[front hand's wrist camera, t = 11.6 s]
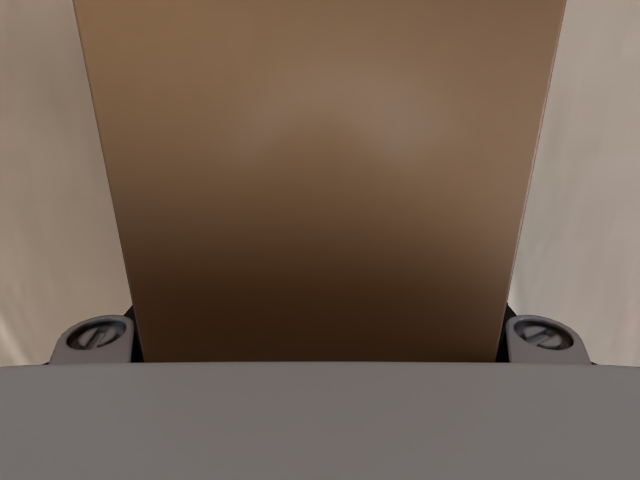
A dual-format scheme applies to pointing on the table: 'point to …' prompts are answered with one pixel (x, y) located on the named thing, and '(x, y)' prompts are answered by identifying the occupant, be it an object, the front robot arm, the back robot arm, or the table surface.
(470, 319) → the bar
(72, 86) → the table surface
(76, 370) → the front robot arm
